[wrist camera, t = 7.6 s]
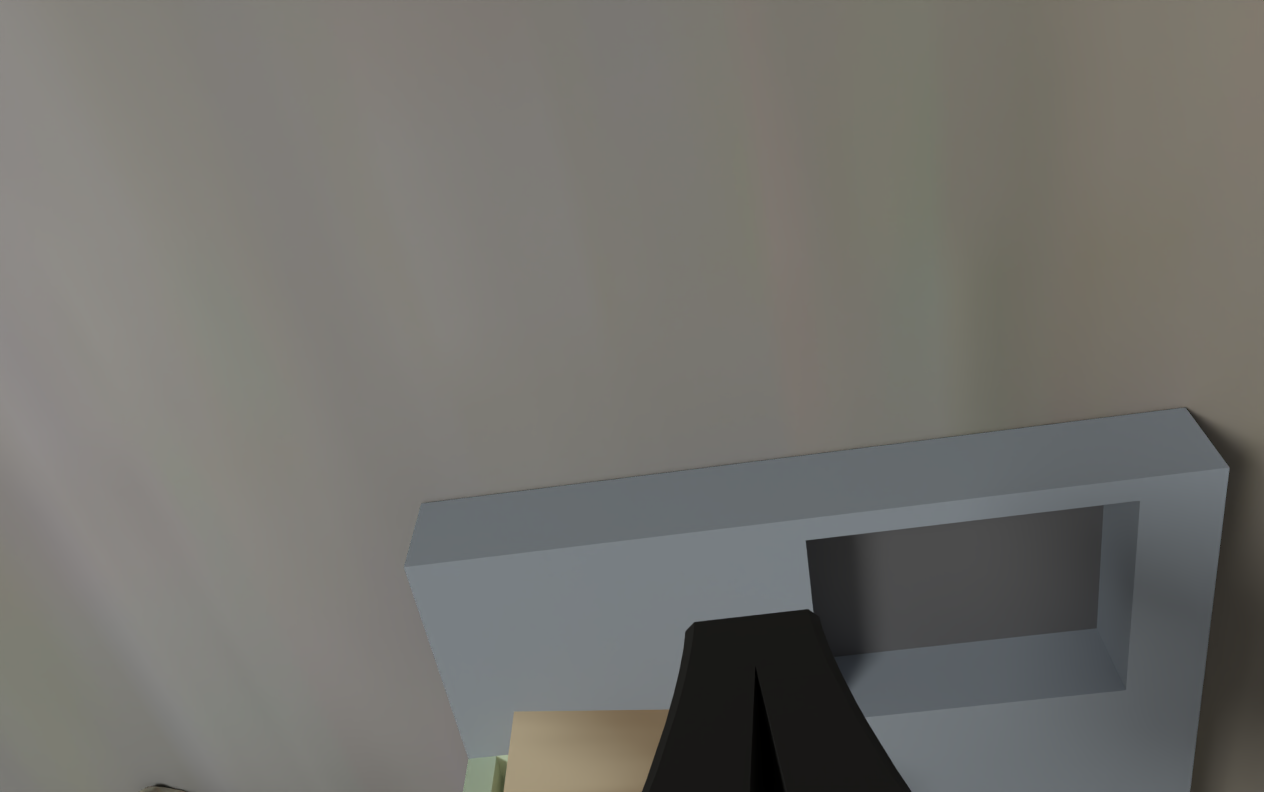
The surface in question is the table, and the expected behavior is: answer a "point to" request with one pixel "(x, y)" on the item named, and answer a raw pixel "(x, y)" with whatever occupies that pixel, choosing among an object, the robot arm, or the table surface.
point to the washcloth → (160, 789)
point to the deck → (865, 596)
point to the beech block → (582, 750)
